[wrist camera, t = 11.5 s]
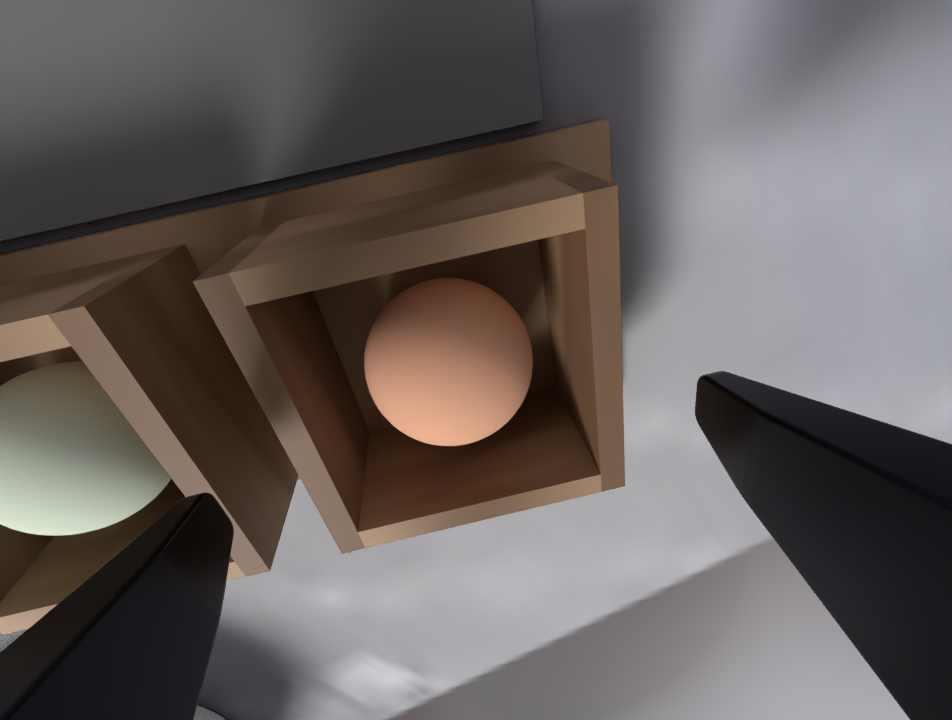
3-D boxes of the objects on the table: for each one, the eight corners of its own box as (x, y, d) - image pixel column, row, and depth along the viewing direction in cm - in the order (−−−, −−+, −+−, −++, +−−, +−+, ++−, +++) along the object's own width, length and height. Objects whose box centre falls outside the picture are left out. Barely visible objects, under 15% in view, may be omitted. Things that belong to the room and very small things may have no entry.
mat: (490, -365, 7) (494, -389, 7) (539, 119, 11) (543, 119, 10) (-450, -174, 7) (-494, -189, 7) (-80, 257, 10) (-96, 262, 10)
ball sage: (158, 315, 11) (66, 403, 8) (231, 433, 13) (182, 543, 10) (-5, 356, 11) (-174, 465, 8) (94, 470, 13) (-4, 597, 10)
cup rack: (600, 119, 11) (701, 126, 7) (611, 393, 15) (678, 489, 11) (-174, 292, 11) (-498, 397, 7) (60, 523, 15) (-59, 665, 11)
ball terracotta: (500, 239, 11) (543, 301, 8) (520, 366, 14) (562, 457, 10) (348, 274, 11) (327, 353, 8) (392, 398, 13) (391, 501, 10)
